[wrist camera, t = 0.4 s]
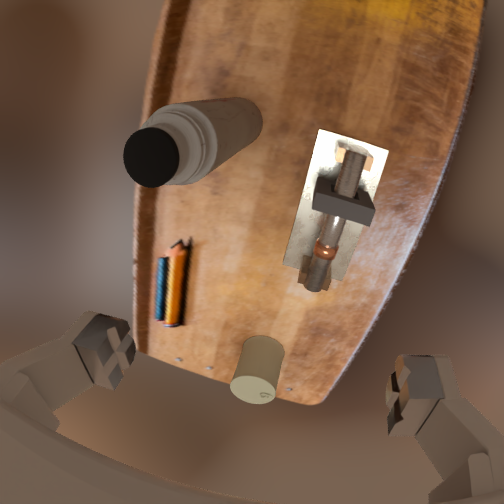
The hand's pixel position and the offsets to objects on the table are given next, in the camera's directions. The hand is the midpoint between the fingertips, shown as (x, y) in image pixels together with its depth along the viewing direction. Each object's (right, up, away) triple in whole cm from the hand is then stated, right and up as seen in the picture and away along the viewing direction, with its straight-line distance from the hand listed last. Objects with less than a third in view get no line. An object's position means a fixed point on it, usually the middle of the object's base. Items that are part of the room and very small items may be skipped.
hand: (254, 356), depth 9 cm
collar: (+13, +12, +38) cm, 42 cm away
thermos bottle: (-2, +23, +39) cm, 45 cm away
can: (+3, -19, +60) cm, 63 cm away
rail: (+13, +10, +42) cm, 45 cm away
